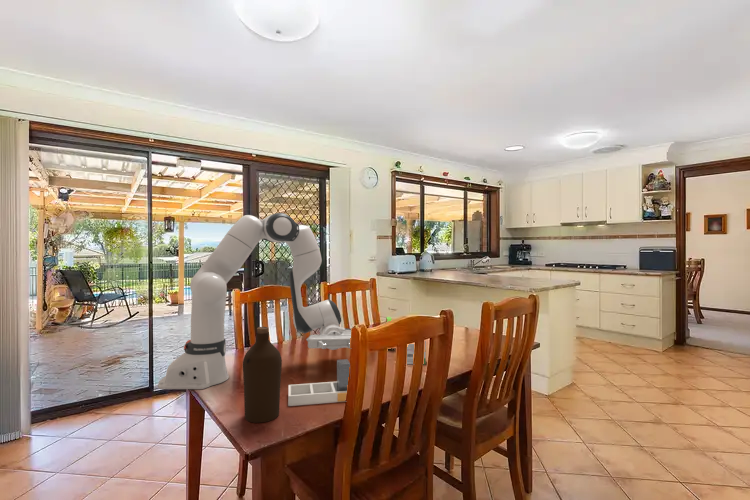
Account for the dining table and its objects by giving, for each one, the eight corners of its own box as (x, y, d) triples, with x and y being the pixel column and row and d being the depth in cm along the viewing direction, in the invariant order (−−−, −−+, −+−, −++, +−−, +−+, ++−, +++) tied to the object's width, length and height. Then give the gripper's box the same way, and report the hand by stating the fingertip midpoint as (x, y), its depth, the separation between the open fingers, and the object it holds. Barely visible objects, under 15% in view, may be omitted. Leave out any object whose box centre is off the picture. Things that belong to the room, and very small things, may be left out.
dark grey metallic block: (338, 399, 119) (339, 364, 119) (336, 393, 124) (337, 359, 124) (349, 398, 120) (350, 363, 120) (347, 392, 125) (347, 359, 125)
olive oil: (275, 424, 102) (275, 332, 101) (236, 423, 102) (236, 331, 102) (285, 408, 112) (286, 324, 112) (250, 407, 113) (251, 323, 112)
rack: (288, 406, 113) (288, 396, 113) (288, 394, 123) (288, 384, 123) (357, 400, 118) (357, 391, 118) (352, 389, 128) (352, 380, 128)
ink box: (424, 361, 160) (424, 333, 160) (425, 364, 155) (425, 336, 155) (404, 360, 160) (404, 333, 160) (405, 364, 156) (405, 335, 156)
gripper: (306, 329, 145) (308, 338, 131) (358, 329, 149) (365, 337, 136) (305, 346, 145) (307, 356, 131) (358, 345, 149) (365, 354, 136)
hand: (337, 346), depth 134 cm, fingers open, 8 cm apart
